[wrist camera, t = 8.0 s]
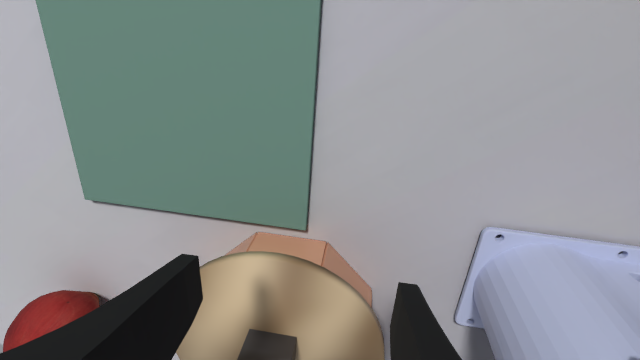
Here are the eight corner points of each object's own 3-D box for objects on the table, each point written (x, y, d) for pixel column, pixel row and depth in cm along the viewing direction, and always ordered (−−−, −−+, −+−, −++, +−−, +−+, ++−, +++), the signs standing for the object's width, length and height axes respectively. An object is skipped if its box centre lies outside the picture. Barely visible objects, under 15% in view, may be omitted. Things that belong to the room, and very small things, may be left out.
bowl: (378, 249, 24) (379, 290, 20) (357, 368, 29) (355, 418, 25) (209, 224, 25) (181, 259, 21) (218, 343, 30) (197, 387, 26)
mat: (324, -54, 17) (323, -56, 16) (307, 226, 24) (305, 230, 23) (26, -71, 18) (17, -73, 18) (90, 196, 25) (85, 199, 25)
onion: (107, 331, 31) (28, 423, 24) (51, 293, 30) (-49, 378, 23) (136, 299, 29) (58, 390, 22) (77, 256, 28) (-26, 338, 21)
